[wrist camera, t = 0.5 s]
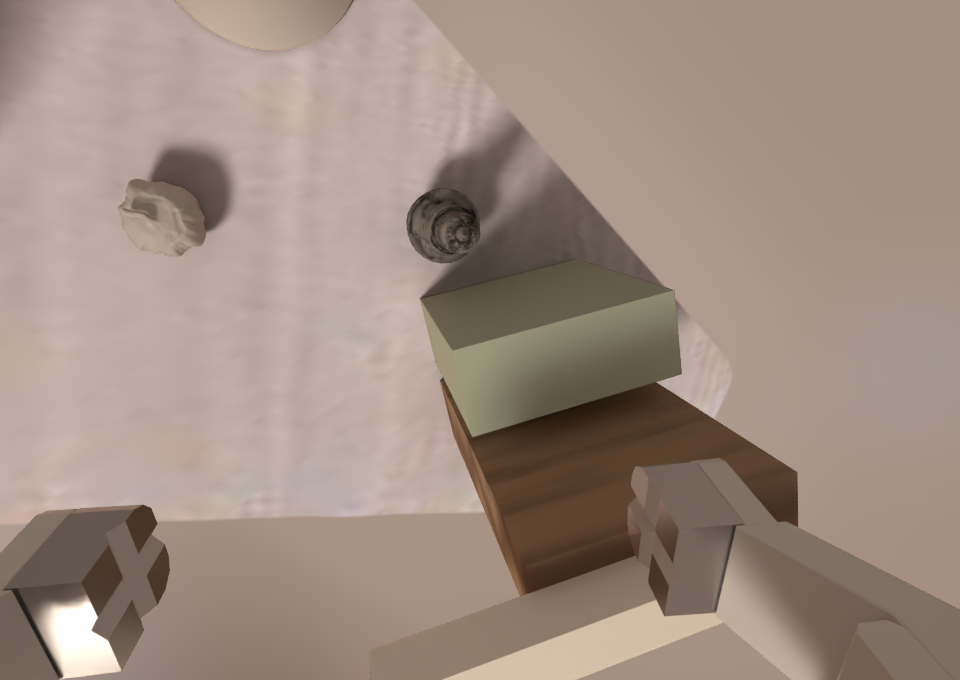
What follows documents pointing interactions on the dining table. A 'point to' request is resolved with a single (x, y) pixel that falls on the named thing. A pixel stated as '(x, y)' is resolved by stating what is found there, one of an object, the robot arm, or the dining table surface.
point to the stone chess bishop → (443, 225)
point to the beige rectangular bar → (544, 633)
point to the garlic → (162, 217)
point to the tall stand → (597, 477)
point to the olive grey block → (550, 341)
